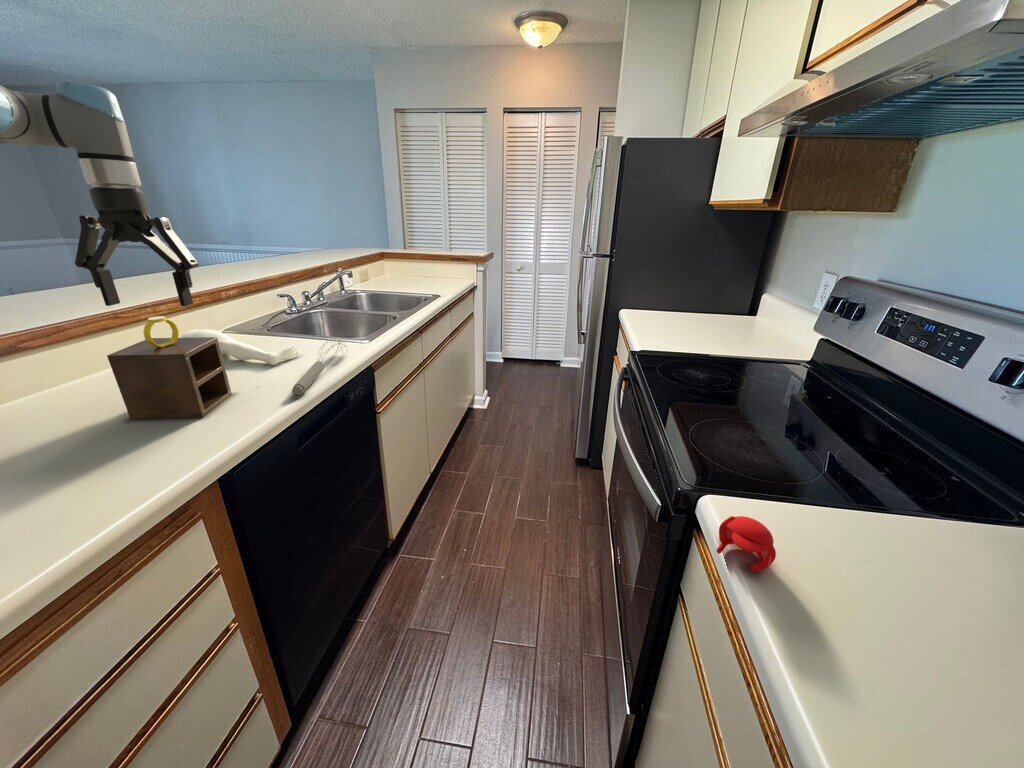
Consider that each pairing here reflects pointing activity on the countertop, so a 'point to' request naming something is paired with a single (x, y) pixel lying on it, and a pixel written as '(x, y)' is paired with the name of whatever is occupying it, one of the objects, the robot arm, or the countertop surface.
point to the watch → (156, 320)
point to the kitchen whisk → (313, 373)
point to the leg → (243, 348)
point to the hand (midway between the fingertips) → (150, 304)
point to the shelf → (171, 378)
